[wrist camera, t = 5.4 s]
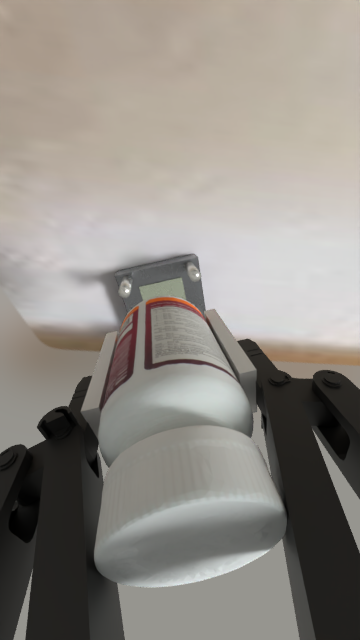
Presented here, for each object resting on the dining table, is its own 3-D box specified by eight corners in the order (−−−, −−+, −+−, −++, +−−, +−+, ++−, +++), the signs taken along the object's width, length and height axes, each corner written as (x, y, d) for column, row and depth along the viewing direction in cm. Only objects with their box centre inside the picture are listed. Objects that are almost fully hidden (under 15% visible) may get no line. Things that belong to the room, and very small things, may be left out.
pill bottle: (145, 377, 17) (142, 609, 7) (103, 315, 14) (1, 559, 4) (216, 347, 17) (318, 549, 7) (188, 277, 14) (293, 448, 4)
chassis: (117, 271, 32) (109, 287, 26) (194, 253, 33) (206, 265, 26) (137, 331, 38) (135, 358, 31) (203, 316, 38) (215, 339, 31)
